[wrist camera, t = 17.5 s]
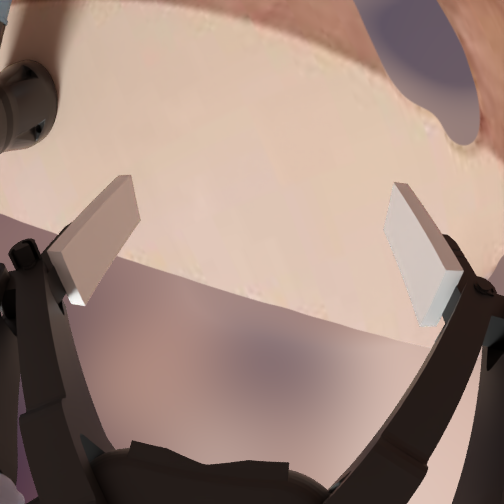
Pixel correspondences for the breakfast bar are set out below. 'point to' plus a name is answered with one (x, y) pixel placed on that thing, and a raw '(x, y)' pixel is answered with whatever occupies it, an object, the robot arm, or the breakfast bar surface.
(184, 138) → the breakfast bar surface
